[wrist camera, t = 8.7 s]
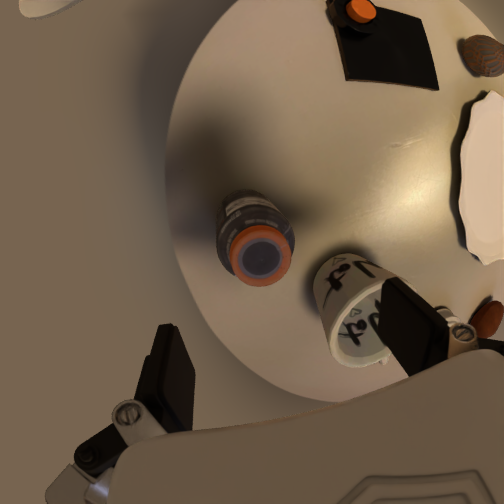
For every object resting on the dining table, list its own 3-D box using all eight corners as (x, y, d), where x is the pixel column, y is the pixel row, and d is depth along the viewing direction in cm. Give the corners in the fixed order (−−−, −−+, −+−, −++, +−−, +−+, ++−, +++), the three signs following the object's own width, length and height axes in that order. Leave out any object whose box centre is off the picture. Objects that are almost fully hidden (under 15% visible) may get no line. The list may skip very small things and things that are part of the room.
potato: (465, 314, 39) (485, 332, 33) (492, 288, 38) (511, 303, 32) (465, 335, 42) (481, 352, 36) (490, 310, 41) (508, 324, 35)
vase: (485, 67, 22) (522, 65, 14) (474, 85, 23) (516, 84, 15) (463, 32, 20) (500, 25, 12) (450, 48, 21) (492, 40, 13)
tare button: (342, 0, 18) (348, -5, 16) (366, 5, 18) (372, 0, 16) (349, 21, 19) (355, 16, 17) (372, 25, 19) (379, 20, 17)
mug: (363, 225, 30) (414, 258, 20) (390, 311, 35) (427, 353, 26) (286, 269, 31) (312, 321, 21) (329, 348, 36) (354, 399, 27)
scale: (321, -3, 19) (328, -12, 17) (416, 17, 20) (426, 13, 17) (342, 80, 23) (352, 75, 21) (435, 90, 24) (447, 89, 22)
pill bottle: (254, 254, 30) (272, 313, 19) (206, 227, 28) (198, 277, 17) (285, 207, 28) (323, 245, 18) (236, 177, 26) (247, 197, 16)
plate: (471, 57, 21) (481, 55, 19) (534, 158, 29) (542, 160, 26) (421, 215, 30) (432, 220, 28) (494, 278, 37) (501, 283, 35)
